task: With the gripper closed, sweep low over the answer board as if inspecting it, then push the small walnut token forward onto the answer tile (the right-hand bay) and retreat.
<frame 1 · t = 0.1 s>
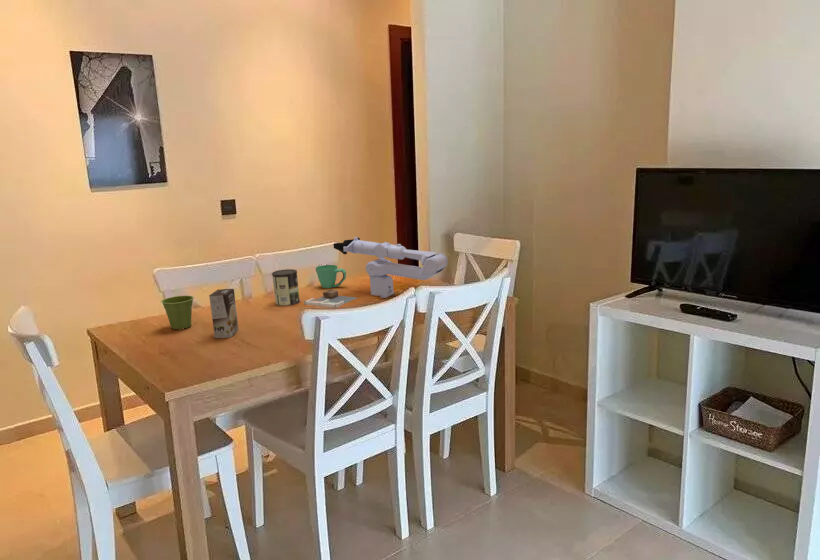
hand: (339, 244, 280), 22 cm above the table, tool horizontal, fingers open, 7 cm apart
token: (330, 297, 274), point 1 cm above the table, touching answer board
plant pot: (181, 327, 246), on the table
answer board: (331, 302, 268), on the table
coffee can: (287, 304, 270), on the table
coffee box: (227, 334, 234), on the table
mug: (333, 289, 292), on the table
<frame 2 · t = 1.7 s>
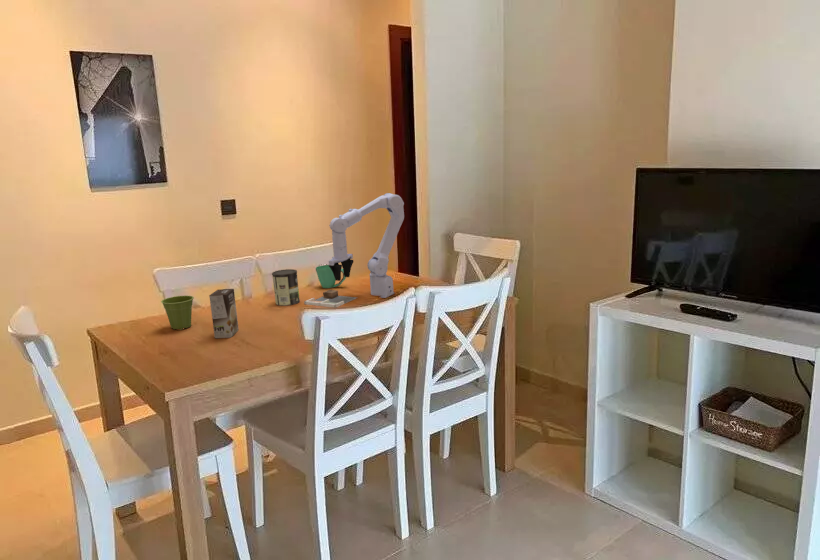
hand: (342, 278, 269), 9 cm above the table, tool pointing down, fingers open, 6 cm apart
nothing on the table moved.
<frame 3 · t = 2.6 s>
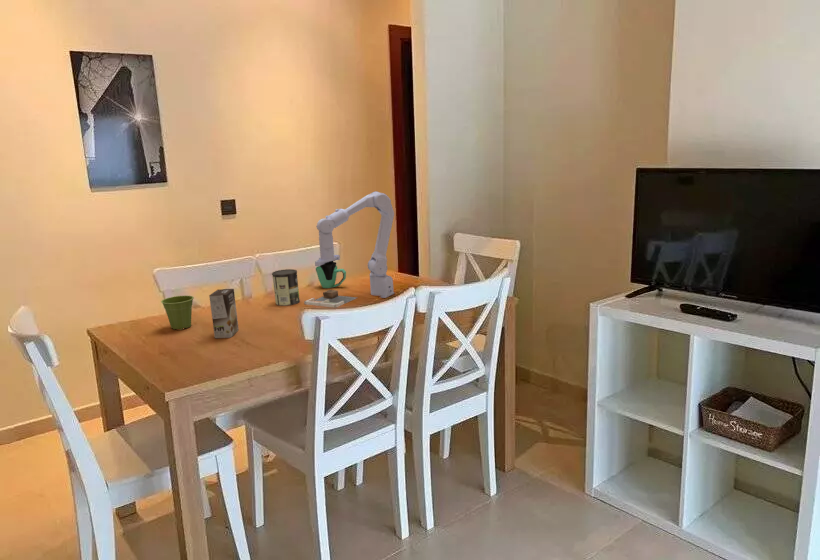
hand: (329, 279, 267), 10 cm above the table, tool pointing down, fingers closed
nothing on the table moved.
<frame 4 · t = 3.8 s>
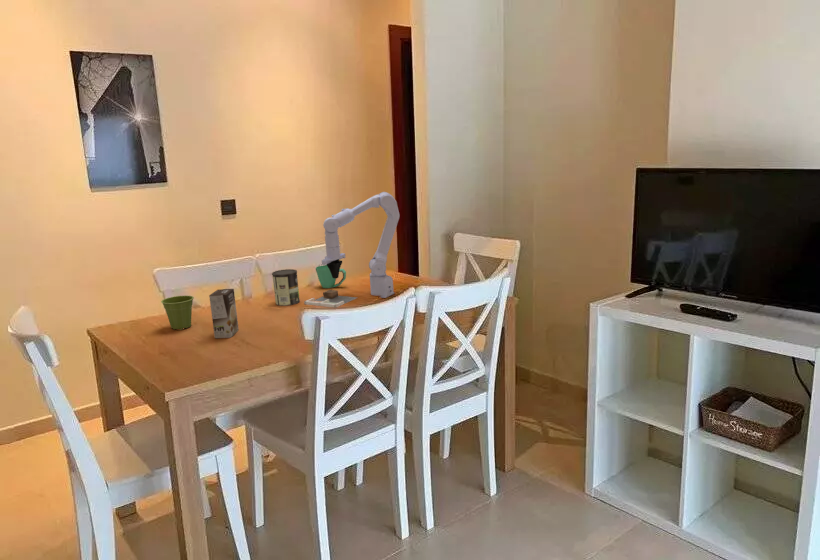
hand: (335, 278, 271), 9 cm above the table, tool pointing down, fingers closed
nothing on the table moved.
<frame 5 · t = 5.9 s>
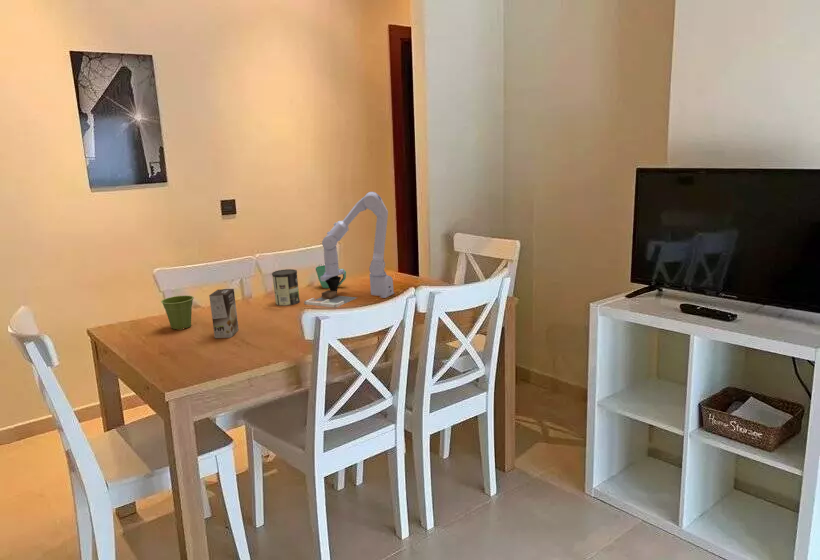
hand: (334, 293, 276), 2 cm above the table, tool pointing down, fingers closed
token: (329, 297, 274), point 1 cm above the table, touching gripper
everything else where it was.
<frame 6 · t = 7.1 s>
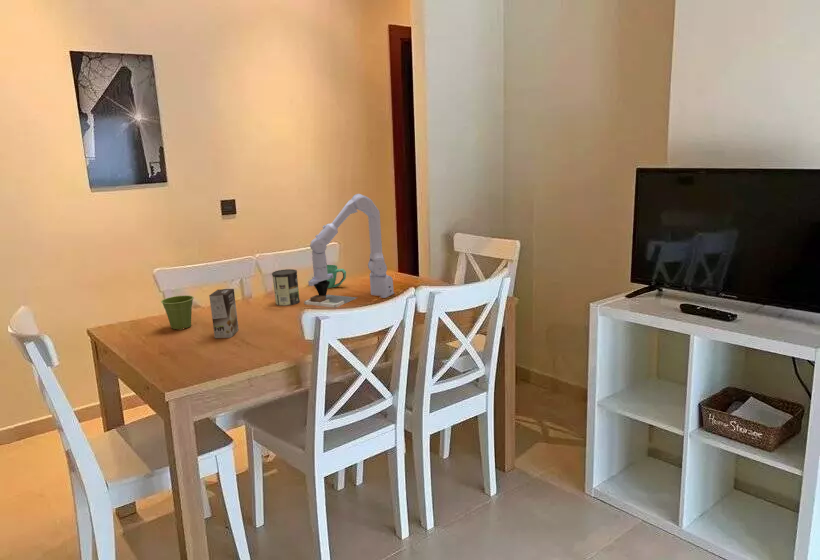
hand: (322, 298, 269), 2 cm above the table, tool pointing down, fingers closed
token: (318, 302, 267), point 1 cm above the table, touching answer board, gripper
everything else where it was.
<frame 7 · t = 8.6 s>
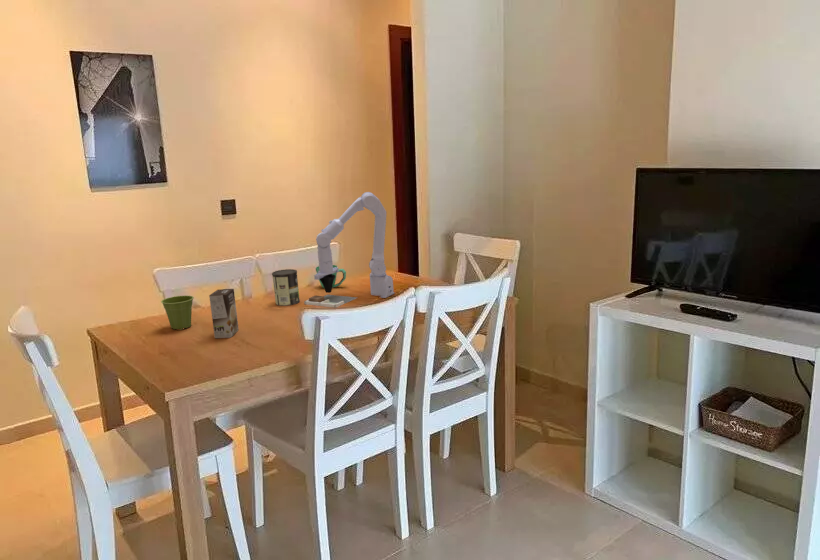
hand: (328, 292, 272), 3 cm above the table, tool pointing down, fingers closed
token: (316, 303, 266), point 1 cm above the table, touching answer board
everything else where it was.
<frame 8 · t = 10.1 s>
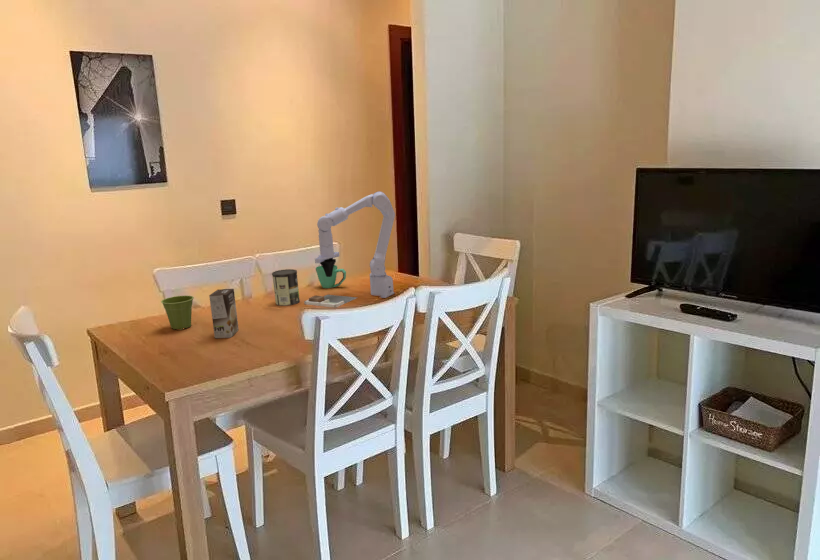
hand: (329, 276, 272), 10 cm above the table, tool pointing down, fingers closed
nothing on the table moved.
at the end: token 0.3 cm from the target spot, point 0.8 cm above the table; token tilted 0°; the gripper is holding nothing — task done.
